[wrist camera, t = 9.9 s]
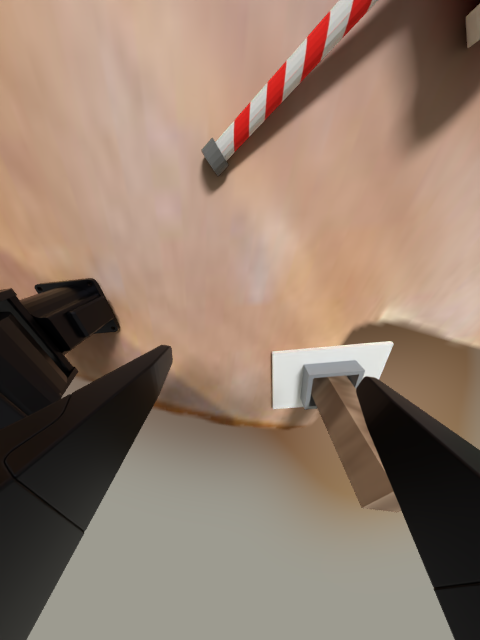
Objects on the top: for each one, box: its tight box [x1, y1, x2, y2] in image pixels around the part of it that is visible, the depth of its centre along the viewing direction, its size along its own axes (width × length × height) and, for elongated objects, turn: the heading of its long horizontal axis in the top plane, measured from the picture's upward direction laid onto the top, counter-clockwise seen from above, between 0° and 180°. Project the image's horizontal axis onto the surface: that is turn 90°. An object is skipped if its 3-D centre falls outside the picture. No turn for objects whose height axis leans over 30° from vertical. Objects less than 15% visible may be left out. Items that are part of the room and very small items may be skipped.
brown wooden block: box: [311, 375, 401, 512], centre depth 20 cm, size 4×4×13 cm
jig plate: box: [272, 341, 393, 409], centre depth 25 cm, size 16×12×2 cm
